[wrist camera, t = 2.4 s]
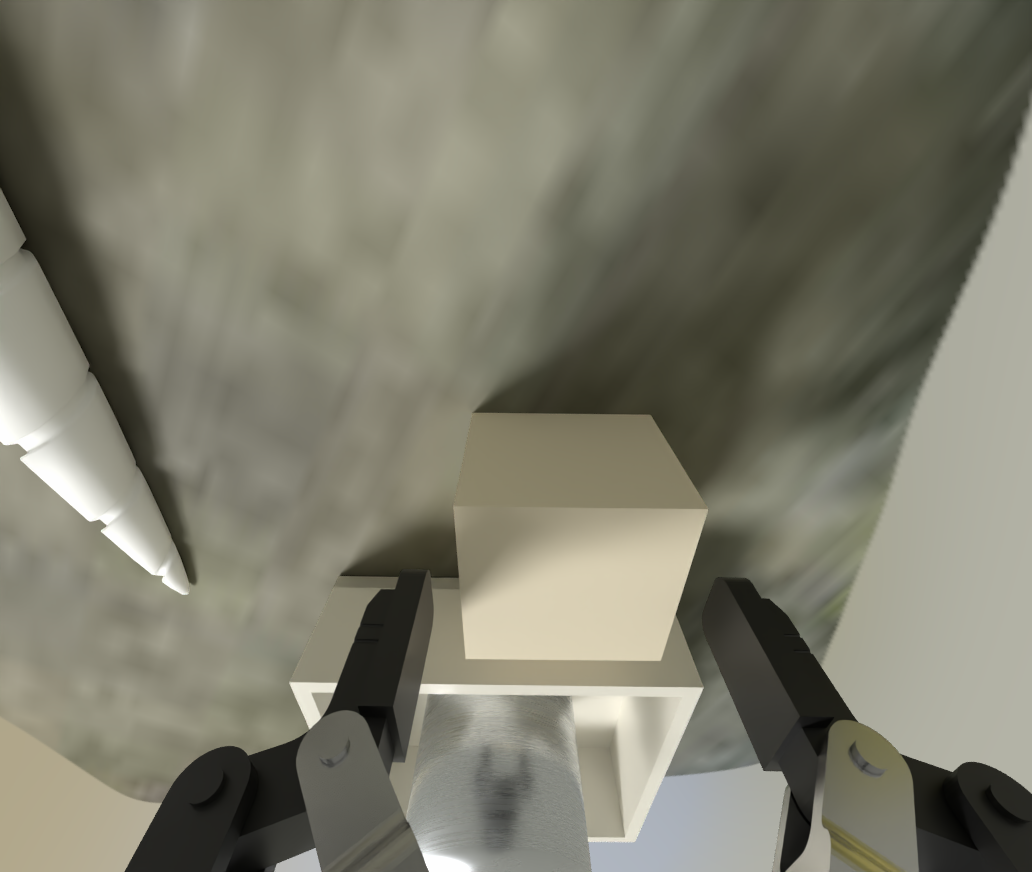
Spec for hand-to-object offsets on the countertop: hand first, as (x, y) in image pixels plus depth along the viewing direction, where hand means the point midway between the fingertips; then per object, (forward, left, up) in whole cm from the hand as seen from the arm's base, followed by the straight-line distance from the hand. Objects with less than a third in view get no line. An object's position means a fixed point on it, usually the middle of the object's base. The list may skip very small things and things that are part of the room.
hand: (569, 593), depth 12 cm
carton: (0, 0, -5) cm, 5 cm away
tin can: (+12, -2, -4) cm, 12 cm away
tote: (+12, -2, -5) cm, 13 cm away
